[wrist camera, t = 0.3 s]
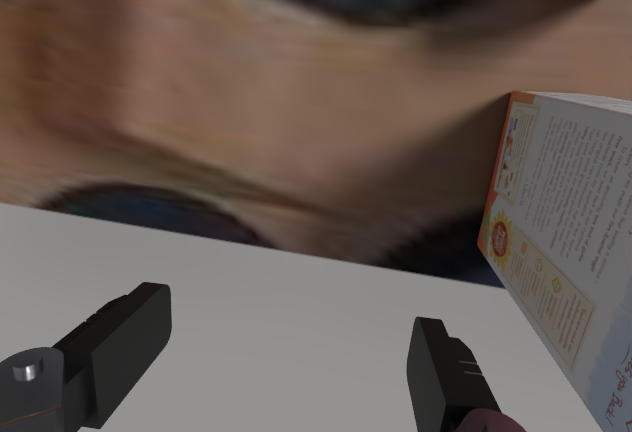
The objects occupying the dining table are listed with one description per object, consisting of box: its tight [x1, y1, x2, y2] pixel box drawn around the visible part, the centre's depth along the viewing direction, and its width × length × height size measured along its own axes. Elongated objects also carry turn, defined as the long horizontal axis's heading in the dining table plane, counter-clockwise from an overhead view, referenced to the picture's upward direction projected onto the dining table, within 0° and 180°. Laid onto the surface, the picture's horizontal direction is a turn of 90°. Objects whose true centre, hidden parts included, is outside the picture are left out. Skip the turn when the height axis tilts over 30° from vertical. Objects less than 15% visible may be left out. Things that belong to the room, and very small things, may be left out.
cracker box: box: [477, 91, 632, 432], centre depth 22 cm, size 14×6×21 cm, turn 178°
